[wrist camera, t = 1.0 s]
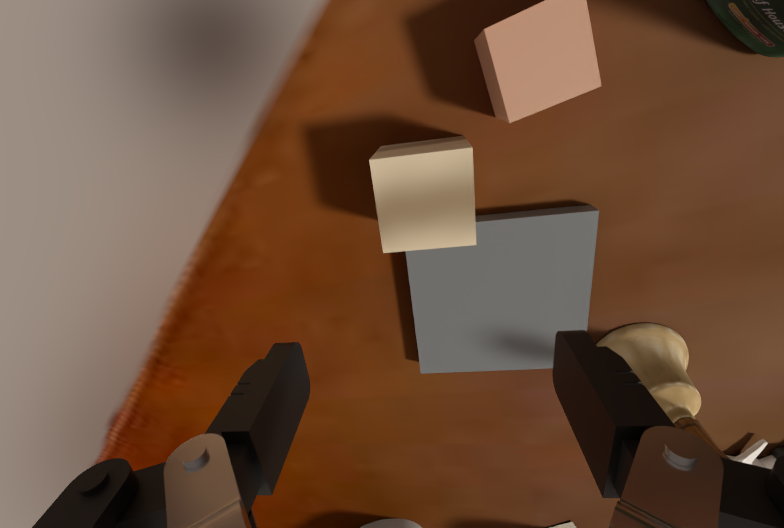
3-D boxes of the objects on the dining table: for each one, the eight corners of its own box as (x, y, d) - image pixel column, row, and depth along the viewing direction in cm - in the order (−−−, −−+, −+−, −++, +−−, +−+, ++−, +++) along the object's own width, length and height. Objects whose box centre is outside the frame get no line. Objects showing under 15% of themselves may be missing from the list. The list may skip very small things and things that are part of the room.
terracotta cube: (473, 40, 24) (483, 29, 20) (552, 3, 23) (583, -18, 18) (495, 117, 26) (509, 123, 21) (569, 86, 25) (601, 86, 20)
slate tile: (403, 222, 30) (402, 229, 28) (590, 204, 28) (599, 210, 26) (421, 362, 35) (420, 373, 34) (576, 355, 33) (583, 366, 32)
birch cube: (380, 145, 27) (369, 159, 22) (463, 135, 27) (472, 147, 21) (391, 223, 30) (383, 253, 24) (467, 216, 29) (476, 245, 24)
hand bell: (639, 305, 31) (824, 494, 16) (708, 354, 32) (933, 569, 18) (565, 367, 34) (665, 570, 20) (630, 410, 36) (768, 628, 21)
